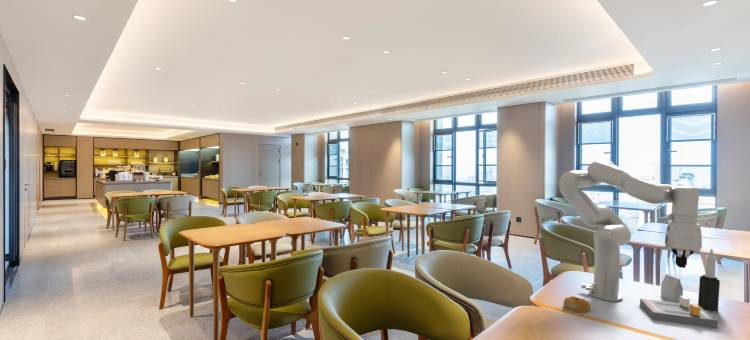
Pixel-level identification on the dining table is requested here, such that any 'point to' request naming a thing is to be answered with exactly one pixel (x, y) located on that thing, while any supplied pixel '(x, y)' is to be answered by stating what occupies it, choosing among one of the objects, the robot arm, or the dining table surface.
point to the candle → (709, 286)
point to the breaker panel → (677, 313)
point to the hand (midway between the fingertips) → (680, 266)
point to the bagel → (577, 304)
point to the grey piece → (671, 288)
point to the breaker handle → (694, 309)
